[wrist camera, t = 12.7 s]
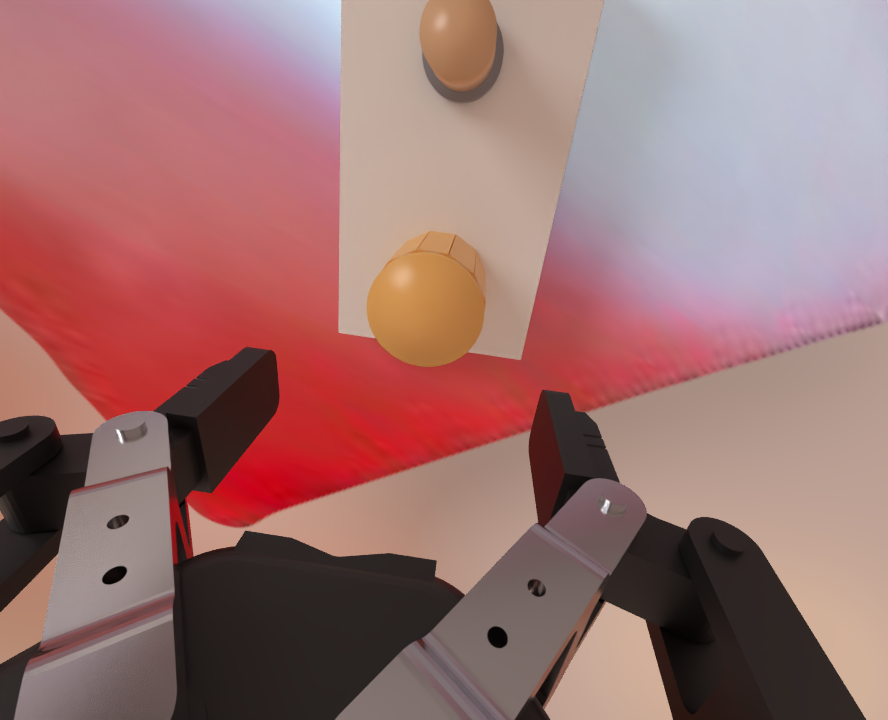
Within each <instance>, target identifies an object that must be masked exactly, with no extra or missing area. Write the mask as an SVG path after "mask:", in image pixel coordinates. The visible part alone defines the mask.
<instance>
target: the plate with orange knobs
mask: <svg viewBox="0 0 888 720" xmlns="http://www.w3.org/2000/svg"><path fill="white" fill-rule="evenodd" d="M603 4H604V0H342V9H341V121H340V232H339V333H344V334H350V335H357V336H364V337H370V338H375V336H374V335H373V333H372V330H371V328H370V325H369V322H368V318H367V298H368V294H369V290H370V288H371V285H372V283H373V282H374V280H375V278H376V277H377V276H378V275H379V273H380V272H381V271H382V269H383V268H384V266H385V265H386V264H387V262H388V261H389V260H390V259H391V258H392V257H393V255H394V254H395V253H396V252H397V251H398V250H399V249H400V248H401V247H402V246H403V245H404V243H405V242H406V241H408V240H410V239H412V238H415V237H417V236H419V235H421V234H424V233H426V232H428V231H436V232H443V233H450V234H455V236H456V235H458V236H459V237H460V238H461V239H463V240H464V241H465V242H466V243H468V244H469V245H470V246H471V247H473V248H474V249H475V250H476V251H477V253H478V256H479V258H480V261H481V263H482V266H483V268H484V271H485V274H486V305H485V311H484V322H483V326H482V330H481V333H480V335H479V337H478V339H477V341H476V342H475V344H474V345H473V346H472V348H471V349H470V350H469V351H468V352H470V353H477V354H484V355H490V356H497V357H504V358H510V359H517V360H521V357H522V353H523V348H524V344H525V340H526V336H527V331H528V327H529V323H530V318H531V314H532V310H533V305H534V301H535V297H536V292H537V288H538V284H539V280H540V275H541V271H542V267H543V262H544V258H545V254H546V249H547V245H548V241H549V236H550V232H551V228H552V224H553V219H554V215H555V211H556V206H557V202H558V198H559V193H560V189H561V185H562V180H563V176H564V172H565V167H566V163H567V159H568V155H569V150H570V146H571V142H572V137H573V133H574V129H575V124H576V120H577V116H578V111H579V107H580V103H581V99H582V94H583V90H584V86H585V81H586V77H587V73H588V68H589V64H590V60H591V55H592V51H593V47H594V43H595V38H596V34H597V30H598V25H599V21H600V17H601V12H602V8H603Z"/></svg>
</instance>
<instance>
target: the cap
mask: <svg viewBox="0 0 888 720" xmlns="http://www.w3.org/2000/svg"><path fill="white" fill-rule="evenodd" d="M485 305H486V274H485V271H484V268H483V266H482V263H481V261H480V258H479V256H478V253H477V251H476V250H475V249H474V248H473V247H471V246H470V245H469V244H468V243H466V242H465V241H464V240H463V239H461V238H460V237H459V236H458V235H456V236H455V234H450V233H443V232H436V231H428V232H426V233H424V234H421V235H419V236H417V237H415V238H412V239H410V240H408V241H406V242H405V243H404V245H403V246H402V247H401V248H400V249H399V250H398V251H397V252H396V253H395V254H394V255H393V257H392V258H391V259H390V260H389V261H388V262H387V264H386V265H385V266H384V268H383V269H382V271H381V272H380V273H379V275H378V276H377V277H376V278H375V280H374V282H373V283H372V285H371V288H370V290H369V294H368V298H367V318H368V322H369V325H370V328H371V330H372V333H373V335H374V336H375V338H376V339H377V341H378V342H379V343H380V345H381V346H382V347H383V348H384V349H385V350H386V351H387V352H389V353H390V354H391V355H392V356H394V357H396V358H397V359H399V360H401V361H403V362H405V363H409V364H412V365H416V366H423V367H435V366H441V365H445V364H448V363H451V362H453V361H455V360H457V359H459V358H460V357H462V356H463V355H464V354H466V353H467V352H468V351H469V350H470V349H471V348H472V346H473V345H474V344H475V342H476V341H477V339H478V337H479V335H480V333H481V330H482V326H483V322H484V311H485Z"/></svg>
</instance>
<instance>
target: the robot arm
mask: <svg viewBox="0 0 888 720" xmlns="http://www.w3.org/2000/svg"><path fill="white" fill-rule="evenodd" d="M278 404H279V384H278V372H277V361H276V355H275V353H274V352H273V351H272V350H265V349H258V348H251V347H246V348H244V349H243V350H241V351H240V352H239V353H238V354H236V355H235V356H234V357H233V358H232V359H230V360H229V361H227V360H226V361H223V362H221V363H219V364H216V365H214V366H211V367H209V368H208V369H206V370H205V371H204V372H203V373H201V374H200V375H199V376H198V377H197V379H194V380H192V381H191V382H190V383H189V384H187V387H184V388H182V389H181V390H180V391H178V392H177V393H176V394H175V395H173V396H172V397H171V398H170V399H168V400H167V401H166V402H164V403H163V404H162V405H161V406H159V407H158V408H157V409H156V410H154V411H153V412H152V411H138V412H131V413H127V414H123V415H120V416H117V417H115V418H112V419H110V420H108V421H106V422H105V423H103V424H102V425H100V426H99V427H98V428H97V429H96V430H95V432H94V433H88V434H71V435H60V434H59V431H58V429H57V426H56V424H55V422H54V421H53V420H52V419H51V418H48V417H44V416H24V417H17V418H12V419H8V420H5V421H1V422H0V511H1V513H2V514H3V516H4V519H2V520H1V521H0V612H1V611H2V610H3V609H4V608H5V607H6V606H7V605H8V604H9V603H10V602H11V601H12V600H13V599H14V598H15V597H16V596H17V595H18V594H19V593H20V592H21V591H22V590H23V589H24V588H25V587H26V586H27V585H28V584H29V583H30V582H31V581H32V579H33V578H35V576H36V575H37V574H38V573H39V572H40V571H41V570H42V569H43V568H44V567H45V566H46V565H47V564H48V563H49V562H50V561H51V560H52V559H53V558H54V557H55V556H56V555H57V554H58V558H57V563H56V569H55V573H54V578H53V584H52V589H51V594H50V599H49V605H48V610H47V615H46V620H45V626H44V631H43V636H42V641H40V642H39V643H37V644H35V645H33V646H32V647H30V648H29V649H26V650H25V651H23V652H21V653H19V654H18V655H16V656H14V657H12V658H10V659H9V660H7V661H6V662H3V663H2V664H0V720H550V718H549V717H548V715H547V714H546V712H545V711H544V709H545V707H546V706H547V704H548V702H549V701H550V699H551V697H552V695H553V694H554V692H555V690H556V688H557V686H558V684H559V683H560V681H561V679H562V677H563V675H564V673H565V671H566V669H567V668H568V666H569V664H570V662H571V660H572V659H573V657H574V655H575V653H576V652H577V650H578V648H579V647H580V645H581V643H582V642H583V640H584V638H585V637H586V635H587V633H588V631H589V630H590V628H591V627H592V625H593V623H594V622H595V620H596V618H597V617H598V615H599V613H600V612H601V610H602V608H603V607H604V605H605V603H606V602H609V603H611V604H613V605H615V606H617V607H620V608H621V609H624V610H626V611H628V612H630V613H632V614H634V615H636V616H639V617H641V618H643V619H645V620H646V623H647V627H648V631H649V634H650V638H651V641H652V645H653V649H654V652H655V656H656V659H657V663H658V667H659V670H660V674H661V677H662V681H663V685H664V688H665V692H666V695H667V699H668V703H669V706H670V710H671V713H672V717H673V720H866V718H865V717H864V715H863V714H862V712H861V710H860V709H859V707H858V706H857V704H856V702H855V701H854V699H853V697H852V696H851V694H850V693H849V691H848V690H847V688H846V686H845V685H844V683H843V681H842V680H841V678H840V676H839V675H838V673H837V672H836V670H835V668H834V667H833V665H832V664H831V662H830V660H829V659H828V657H827V655H826V654H825V652H824V651H823V649H822V647H821V646H820V644H819V642H818V641H817V639H816V638H815V636H814V634H813V633H812V631H811V629H810V628H809V626H808V625H807V623H806V621H805V620H804V618H803V617H802V615H801V613H800V612H799V610H798V608H797V607H796V605H795V604H794V602H793V600H792V599H791V597H790V596H789V594H788V593H787V591H786V589H785V588H784V586H783V584H782V583H781V581H780V580H779V578H778V576H777V575H776V573H775V571H774V570H773V568H772V566H771V565H770V563H769V562H768V560H767V558H766V557H765V555H764V554H763V552H762V550H761V549H760V548H759V546H758V545H757V544H756V543H755V542H754V541H753V540H752V539H751V538H750V537H749V536H747V535H746V534H745V533H744V532H742V531H741V530H739V529H738V528H735V527H734V526H732V525H730V524H728V523H726V522H724V521H721V520H718V519H714V518H709V517H700V518H696V519H694V520H693V521H691V523H690V525H689V526H688V528H687V530H686V529H684V528H681V527H678V526H676V525H673V524H671V523H668V522H666V521H663V520H660V519H658V518H656V517H653V516H651V515H650V514H648V513H647V511H646V507H645V505H644V503H643V501H642V500H641V499H640V497H639V496H638V495H637V494H636V493H635V492H633V491H632V490H631V489H629V488H628V487H626V486H625V485H622V484H620V482H619V479H618V477H617V474H616V472H615V469H614V466H613V464H612V461H611V459H610V456H609V454H608V451H607V450H606V449H605V448H606V446H605V444H604V441H603V439H601V437H602V436H601V434H600V431H599V429H598V426H597V424H596V423H595V422H594V421H593V420H592V419H591V418H590V417H589V416H588V415H587V414H586V413H585V412H578V411H575V409H574V406H573V403H572V400H571V397H570V395H569V393H563V392H556V391H549V390H542V392H541V394H540V398H539V401H538V405H537V409H536V413H535V417H534V421H533V425H532V429H531V433H530V439H529V458H530V465H531V473H532V479H533V487H534V494H535V501H536V509H537V516H538V523H536V524H534V525H533V526H532V527H530V528H529V529H528V531H527V532H526V533H525V534H524V535H523V536H522V537H521V538H520V539H519V540H518V541H517V542H516V543H515V544H514V545H513V546H512V547H511V548H510V549H509V550H508V551H507V553H505V555H504V556H503V557H502V558H501V559H500V560H499V561H498V562H497V563H496V564H495V565H494V566H493V567H492V568H491V569H490V570H489V571H488V572H487V573H486V574H485V576H483V578H482V579H481V580H480V581H479V582H478V583H477V584H476V585H475V586H474V587H473V588H472V589H471V590H470V591H469V592H468V593H467V594H466V595H464V594H463V593H462V592H461V591H459V590H458V589H457V588H455V587H454V586H452V585H450V584H449V583H447V582H445V581H444V580H442V579H439V578H437V577H435V570H436V562H437V561H435V560H429V559H423V558H416V557H410V556H403V555H397V554H391V553H387V554H373V555H359V556H346V557H336V556H332V555H330V554H327V553H325V552H323V551H320V550H318V549H316V548H314V547H311V546H309V545H307V544H305V543H302V542H300V541H298V540H295V539H293V538H289V537H282V536H276V535H270V534H263V533H257V532H250V531H245V532H244V534H243V536H242V537H241V538H240V540H239V542H238V543H237V545H236V546H235V547H227V548H221V549H216V550H212V551H209V552H205V553H202V554H200V555H197V556H193V548H192V538H191V529H190V520H189V511H188V504H187V500H186V497H187V496H188V495H189V493H190V492H191V491H192V490H194V491H201V492H207V493H212V492H213V491H214V490H215V488H216V487H217V486H218V485H219V483H220V482H221V481H222V480H223V478H224V477H225V476H226V475H227V473H228V472H229V471H230V470H231V468H232V467H233V466H234V465H235V463H236V462H237V461H238V460H239V458H240V457H241V456H242V455H243V453H244V452H245V451H246V450H247V448H248V447H249V446H250V445H251V443H252V442H253V441H254V440H255V438H256V437H257V436H258V435H259V433H260V432H261V431H262V430H263V428H264V427H265V426H266V425H267V423H268V422H269V421H270V420H271V418H272V417H273V416H274V414H275V413H276V410H277V408H278Z"/></svg>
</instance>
